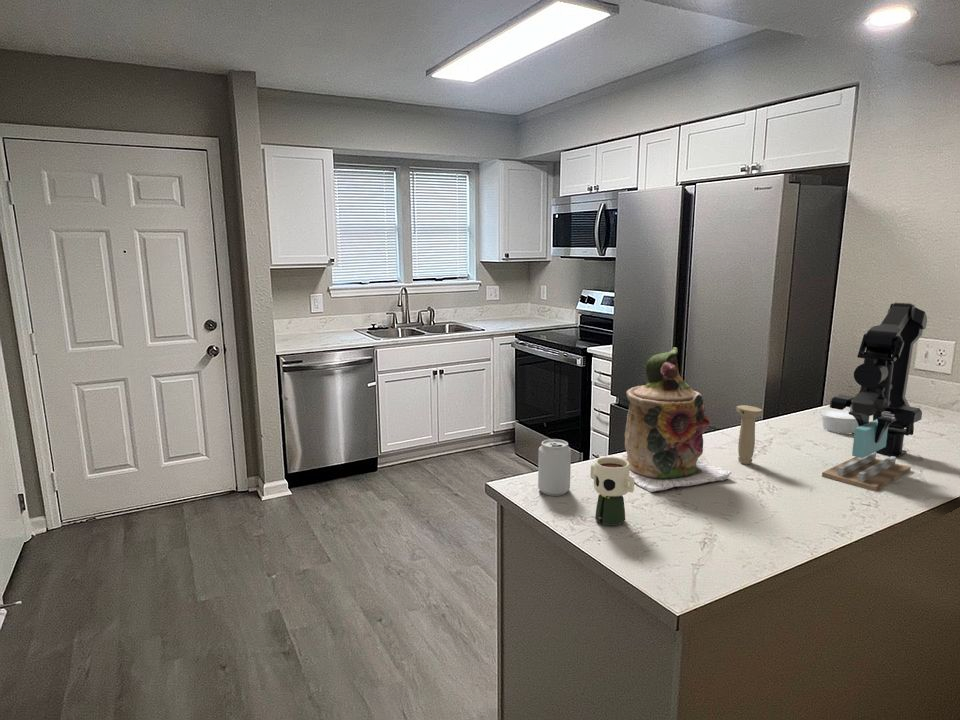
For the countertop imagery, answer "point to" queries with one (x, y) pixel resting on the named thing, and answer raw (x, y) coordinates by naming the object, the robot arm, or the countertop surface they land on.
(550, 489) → the can
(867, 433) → the door panel
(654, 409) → the cookie jar
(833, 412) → the ramekin
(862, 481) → the track
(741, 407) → the handle
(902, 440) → the robot arm
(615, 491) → the character mug
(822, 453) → the countertop surface
